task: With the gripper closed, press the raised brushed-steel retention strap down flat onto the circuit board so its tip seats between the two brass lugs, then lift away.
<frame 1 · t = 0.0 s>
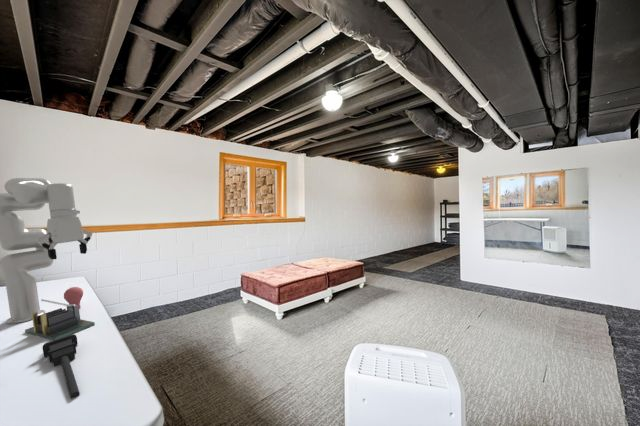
hand: (69, 256, 107), 31 cm above the table, fingers open, 9 cm apart
light bulb: (75, 311, 132), on the table
circuit board: (60, 328, 112), on the table
electrical plug: (66, 369, 83), on the table
retention strap: (59, 303, 112), point 11 cm above the table, hinge at 35.0°
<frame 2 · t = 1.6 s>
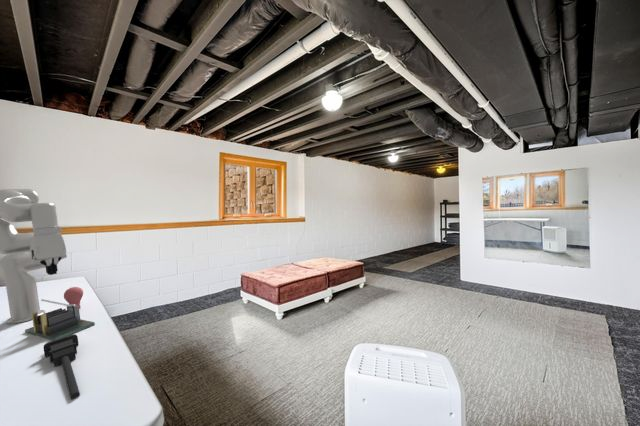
hand: (52, 274, 114), 23 cm above the table, fingers closed
nothing on the table moved.
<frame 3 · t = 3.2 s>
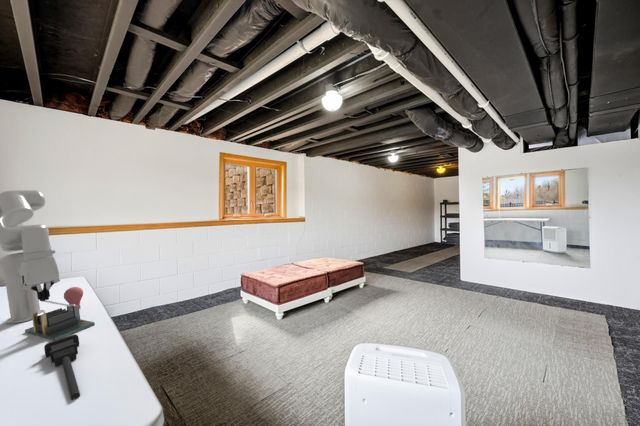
hand: (44, 299, 108), 14 cm above the table, fingers closed
retention strap: (59, 303, 112), point 11 cm above the table, hinge at 34.1°, touching gripper
everything else where it was.
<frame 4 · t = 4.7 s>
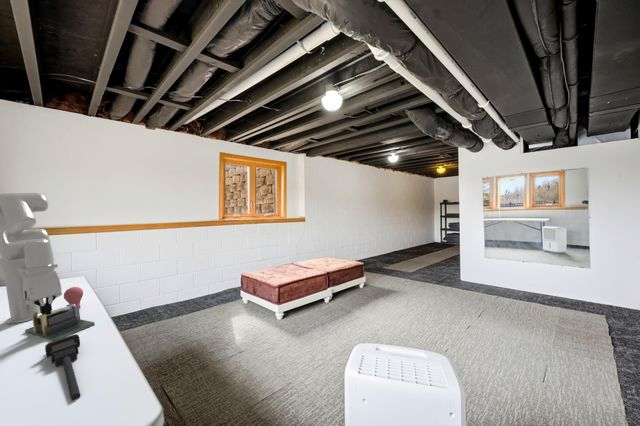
hand: (46, 314, 108), 8 cm above the table, fingers closed
retention strap: (57, 311, 112), point 8 cm above the table, hinge at 0.1°, touching gripper
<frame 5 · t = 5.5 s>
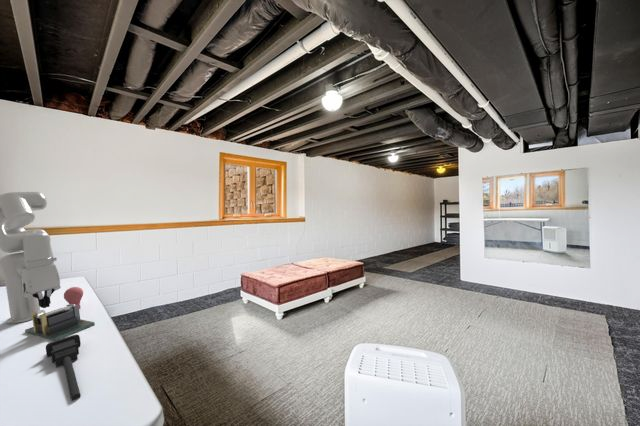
hand: (45, 306, 109), 11 cm above the table, fingers closed
retention strap: (57, 311, 112), point 8 cm above the table, hinge at 0.1°
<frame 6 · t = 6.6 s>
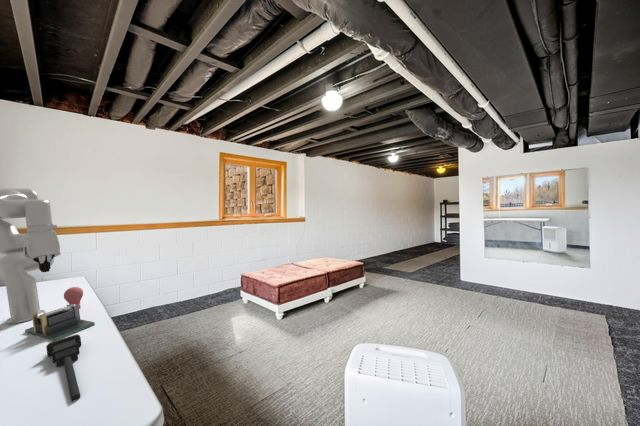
hand: (45, 271, 113), 25 cm above the table, fingers closed
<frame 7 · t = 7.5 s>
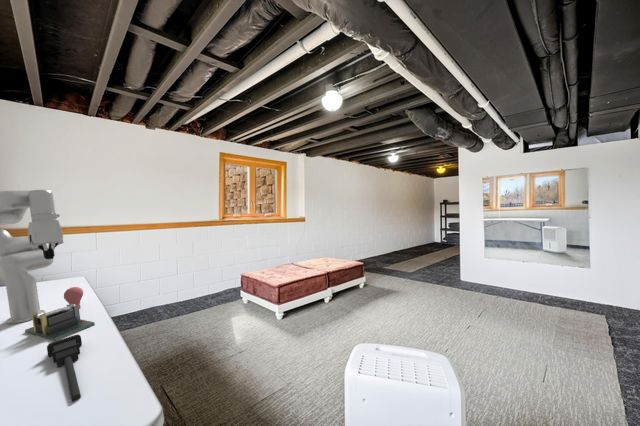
hand: (49, 258, 118), 29 cm above the table, fingers closed
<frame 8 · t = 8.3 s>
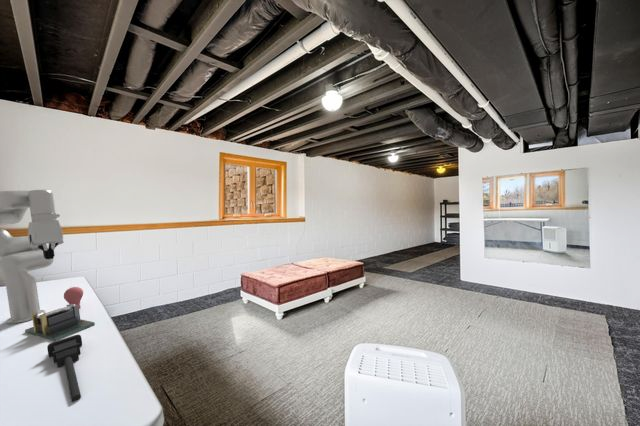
hand: (49, 258, 118), 29 cm above the table, fingers closed
at the end: retention strap at +0° (first picture: +35°); light bulb moved 0.2 cm from its start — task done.
